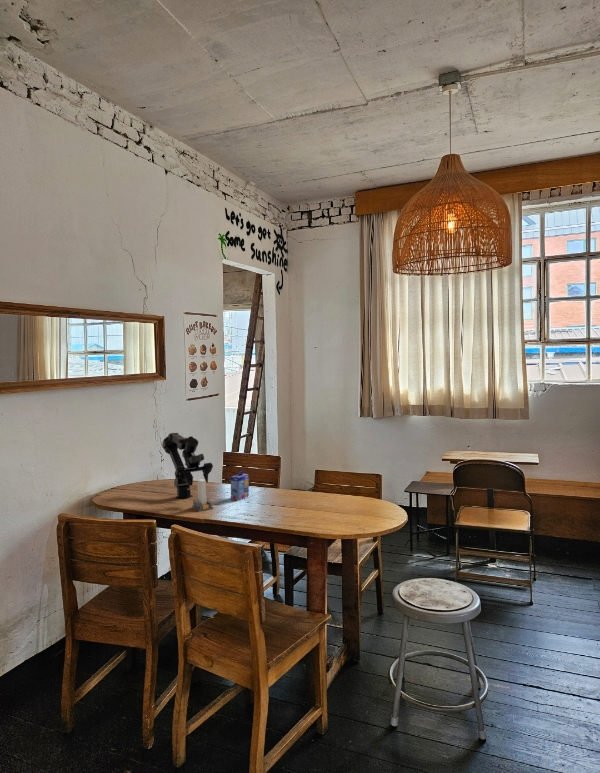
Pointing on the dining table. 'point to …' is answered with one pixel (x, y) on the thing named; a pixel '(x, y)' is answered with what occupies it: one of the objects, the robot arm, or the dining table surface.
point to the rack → (202, 506)
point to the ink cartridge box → (239, 486)
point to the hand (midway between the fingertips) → (198, 483)
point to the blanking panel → (201, 491)
